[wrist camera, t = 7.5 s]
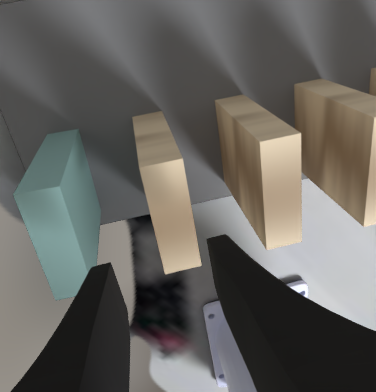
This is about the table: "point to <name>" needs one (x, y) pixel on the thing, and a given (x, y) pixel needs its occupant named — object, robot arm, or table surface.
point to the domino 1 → (61, 211)
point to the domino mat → (167, 76)
